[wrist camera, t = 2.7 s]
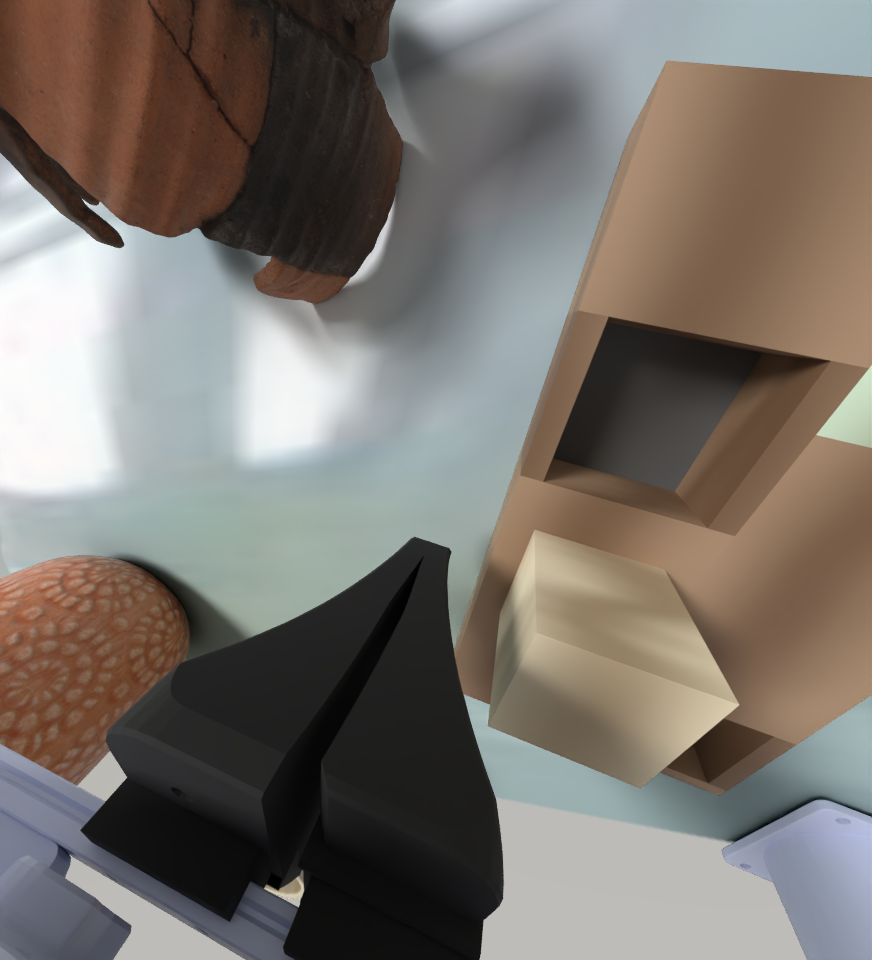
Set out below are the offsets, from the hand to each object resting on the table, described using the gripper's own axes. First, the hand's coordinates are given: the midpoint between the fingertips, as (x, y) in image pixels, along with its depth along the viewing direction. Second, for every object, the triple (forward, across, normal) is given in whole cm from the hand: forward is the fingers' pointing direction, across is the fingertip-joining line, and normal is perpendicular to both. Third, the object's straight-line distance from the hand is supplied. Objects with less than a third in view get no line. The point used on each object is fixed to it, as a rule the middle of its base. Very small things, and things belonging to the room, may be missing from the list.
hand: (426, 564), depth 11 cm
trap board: (+3, -8, -2) cm, 9 cm away
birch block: (+1, -5, 0) cm, 5 cm away
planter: (+4, +21, +16) cm, 27 cm away
